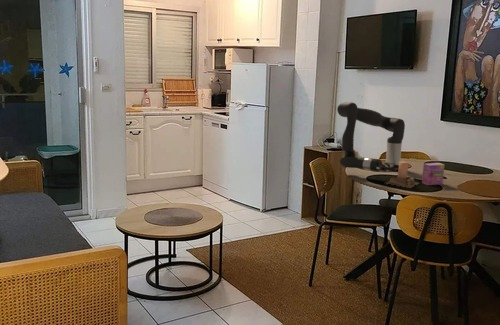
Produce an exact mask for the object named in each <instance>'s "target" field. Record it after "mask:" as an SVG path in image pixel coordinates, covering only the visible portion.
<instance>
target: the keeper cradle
mask: <svg viewBox="0 0 500 325" xmlns="http://www.w3.org/2000/svg"><path fill="white" fill-rule="evenodd" d="M385 183H386V184H385V185H388V184H391V185H390V186H394V185H396V186H395V187H400V186H401V188H405V187H406V189H412V188H413V187H414V188H415V187H416V186H418V185H420V182H416V181H415V177H412V176H407V180H403V179H398V174H397V175H396V177H390V178H389V180H388V181H385ZM415 185H416V186H415Z"/></svg>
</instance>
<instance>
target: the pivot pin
mask: <svg viewBox="0 0 500 325" xmlns="http://www.w3.org/2000/svg"><path fill="white" fill-rule="evenodd" d="M408 168H409V162H408V161H400V162H399V169H397V170H398V171H397V175H398V179H403V180H407V177H408V171H409V169H408Z"/></svg>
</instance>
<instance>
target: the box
mask: <svg viewBox="0 0 500 325" xmlns="http://www.w3.org/2000/svg"><path fill="white" fill-rule="evenodd" d="M445 165H446V164H444V163H440V162H431V163H430V162H429V163H428V162H427V163H423V165H422V166H423V168H422V175H421V176H422V178H421V183H422V184H424V185H427V186H432V185H433V186H435V185H443V184H444V174H445Z"/></svg>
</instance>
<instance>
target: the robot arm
mask: <svg viewBox="0 0 500 325" xmlns="http://www.w3.org/2000/svg"><path fill="white" fill-rule="evenodd" d="M336 109H337V113H338V115H339V116H340V117H342V118H346V119H347V120H346V126H345V129H344V131H343V134H342V136H341V137H342V138H341V150H342V151H343V152H344V155H343V156H340V158H339V164H340V165H341V167H343V168H350V169H354V168H355V169H360V170H366V171H370V172H375V173H376V172H377V173H378V172H380V171H381V172H393V173H394V172H396V170H398V169H399V162H401V156H402V144H403V143H402V142H403V139H404V136H405V135H404V134H405V127H406V125H405V121H404V120H403V119H401V118H396V117H388V116H385V115H382V114H381V113H380V112H378V111H376V110H373V109H370V108H361V107H358V105H357V104H356V102H352V101H351V102H348V101H346V102H341V103H340V104H338V106H337V108H336ZM357 121H358V122H360V123H363V124H366V125H369V126H371V127H379V128H382V129H384V130H385V131H388V132H390V133H392V136H391V137H388V138H387V139H386V140H387V141H386V154H385V162H382V160H381V159H380V158H379V159H378V158H372V157H363V156H357V157H356V154H355V150H354V140H355V139H354V136H355V130H356V129H355V128H356V123H357Z"/></svg>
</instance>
